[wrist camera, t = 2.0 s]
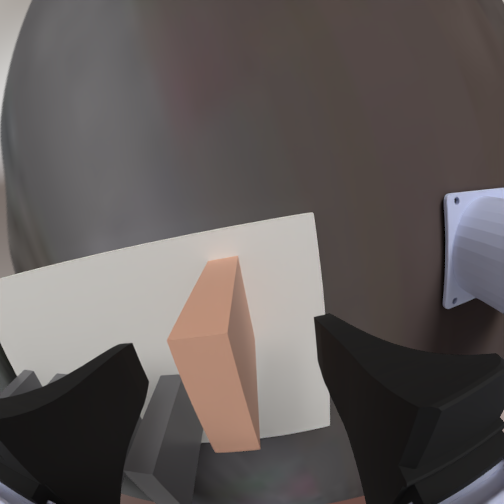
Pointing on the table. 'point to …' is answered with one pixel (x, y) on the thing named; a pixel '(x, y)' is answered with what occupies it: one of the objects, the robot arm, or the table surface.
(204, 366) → the domino
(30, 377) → the domino
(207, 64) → the table surface
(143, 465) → the domino
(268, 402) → the grey mat
